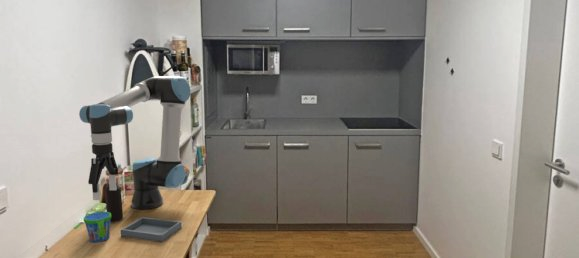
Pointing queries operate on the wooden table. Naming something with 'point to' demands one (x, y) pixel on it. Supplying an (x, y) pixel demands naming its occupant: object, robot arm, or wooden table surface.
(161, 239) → the tray
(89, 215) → the snack cup
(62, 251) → the wooden table surface
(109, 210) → the bottle
